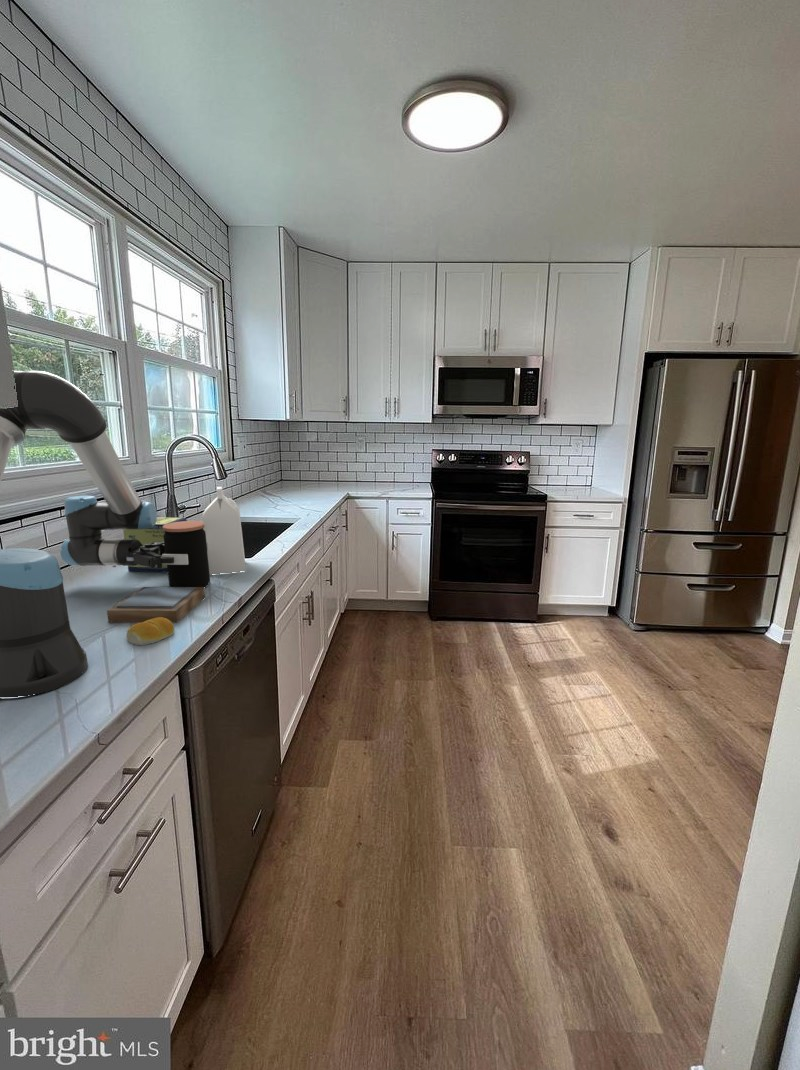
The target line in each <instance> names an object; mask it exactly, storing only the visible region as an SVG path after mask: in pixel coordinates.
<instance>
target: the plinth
mask: <svg viewBox="0 0 800 1070" xmlns="http://www.w3.org/2000/svg"><path fill="white" fill-rule="evenodd" d="M205 588H206V587H205ZM205 588H204V587H170V586H143V587H142V588H140V589H139V590H137V591H135V592H134V593H132V594H130V595H129V596H128V597H125V598H123V599H122V600H121V601H119V602H117V603H116V604H115V605H113V606H111V607H110V608H108V609H107V610H106V614H107V622H108V623H128V624H131V623H134V624H137V623H141V622H144V621H147V620H150V619H153V618H157V617H163V618H166V619H168V620H170V621H171V622H172V624H175V623H176V624H177V623H179V622H180V621H181V620H182V619H184V618H185V616H186V615H188V614H189V613H190V612H191V611H192V610H194V609H195V608H196V607H197V606H198V605H200V603H201V602H203V599H204V598H205V599H206V590H205ZM205 599H204V600H205ZM196 605H197V606H196Z"/></svg>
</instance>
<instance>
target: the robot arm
mask: <svg viewBox="0 0 800 1070" xmlns="http://www.w3.org/2000/svg"><path fill="white" fill-rule="evenodd" d="M13 371H14V378H15V383H16V392H17V400H18V407H14V408H7V409H0V484H1V483H2V480H3V476H4V473H5V469H6V466H7V462H8V459H9V455H10V453H11V449H12V447H15V446H19V445H20V444H22V443H23V441H24V440H25V436H26V433H27V431H28V429H31V430H32V429H35V430H36V429H37V430H38V429H49V430H52V431H55V432H56V433H57V435H58V436H59V438H61V440H62V441H63V442H65V443H68V444H70V446H71V448H72V449H73V451H74V452H75V454H76V455H77V457H78V459H79V460H80V462H81V463H82V466H84V468H85V470H86V471H87V474H88V475H89V477H90V478H91V479H92V481H93V482H94V485H95V486H96V487H97V489H98V491H99V492H100V494H101V496H102V497H103V499H104V501H105V502H99V501H98V500H97V497H96V496H94V495H76V496H69V497H67V498H66V499H64V502H63V504H64V516H65V520H66V527H67V530H68V532H67V533H68V535H69V536H68V539H65V540H64V541H63V542H62V543H61V545H60V549H61V550H60V552H59V555H60V558H61V560H62V561H63V562H64V564H66V565H69V566H81V567H86V566H89V567H91V566H95V567H97V566H105V567H106V566H112V568H116V567H117V566H122V567H124V566H125V567H128V566H136V565H143V566H148V567H156V565H157V568H162V563H163V565H188V564H189V563H188V554H164V553H165V545H164V542H152V543H151V544H145V546H143V545H142V544H141V542H140V541H139V540H137V539H124V538H103V537H102V535H103V533H102V531H114V530H115V531H118V530H119V531H120V530H121V531H123V530H132V529H138V530H140V529H147V528H152V527H154V526H155V524H156V520H157V517H158V512H157V508H156V506H155V504H154V503H152V502H150V501H142V500H141V497H140V496H139V494H138V493H137V491H136V489H135V487H134V484H133V483H132V481H131V480H130V477H129V476H128V473H127V471H126V470H125V467H124V466H123V464H122V461H121V460H120V458H119V455H118V454H117V452H116V450H115V448H114V446H113V445H112V442H111V440H110V438H109V436H108V434H107V432H106V430H107V428H108V427H107V423H106V420H105V418H104V416H103V414H102V412H101V411H100V410H99V408H98V407H97V405H96V404H95V402H93V401H92V400H91V398H90V397H88V396H87V394H85V393H84V392H83V391H82V390H81V389H80V388H78V387H77V386H76V385H75V384H73V383H71V382H69V381H68V380H66V379H65V378H62V377H60V376H59V375H56V374H53V373H51V372H48V371H43V370H13ZM14 389H15V386H14ZM206 543H207V551H209V544H208V542H206ZM161 556H162V557H161ZM66 599H67V598H66V592H65V587H64V576H63V574H62V571H61V567H60V564H59V560H58V559H57V557H56V556H54V555H53V554H52V553H51V552H48V551H45V550H42V549H37V548H28V547H27V548H26V547H25V548H24V547H23V548H22V547H21V548H19V547H11V548H8V549H7V548H5V549H3V548H0V697H18V696H28V695H33V694H38V695H40V694H39V693H42V694H44V693H43V692H45V693H48V692H50V691H53V690H57V689H58V688H60V687H63V686H66V685H68V684H69V683H72V682H73V681H75V680H77V679H78V678H79V677H80V676H81V674H82V673H83V674H84V673H85V672H86V670H87V669H88V666H89V663H88V658H87V652H86V651H85V650H84V648H83V647H82V645H81V644H80V642H79V641H78V638H77V637H76V635H75V634H74V632H73V630H72V628H71V624H70V618H69V612H68V606H67V601H66ZM84 671H85V672H84ZM83 674H82V675H83ZM77 677H78V678H77Z"/></svg>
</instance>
